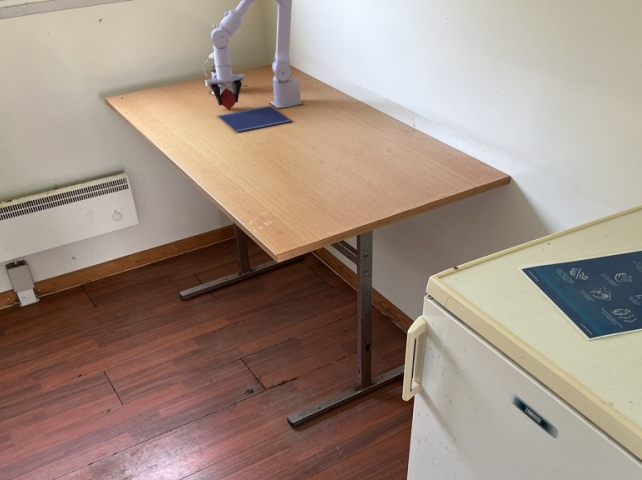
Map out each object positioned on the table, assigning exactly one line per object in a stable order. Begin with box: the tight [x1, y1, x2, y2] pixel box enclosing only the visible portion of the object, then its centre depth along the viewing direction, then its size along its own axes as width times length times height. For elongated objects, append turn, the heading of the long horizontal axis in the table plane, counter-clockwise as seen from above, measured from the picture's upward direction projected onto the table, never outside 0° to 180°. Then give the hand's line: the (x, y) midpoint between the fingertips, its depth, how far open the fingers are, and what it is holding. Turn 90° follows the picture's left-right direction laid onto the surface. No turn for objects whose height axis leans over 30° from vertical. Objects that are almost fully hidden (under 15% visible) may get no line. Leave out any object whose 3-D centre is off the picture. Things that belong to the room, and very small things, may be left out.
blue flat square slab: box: [218, 105, 292, 134], centre depth 236 cm, size 20×20×1 cm
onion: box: [220, 87, 236, 110], centre depth 244 cm, size 6×6×8 cm
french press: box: [202, 23, 233, 96], centre depth 257 cm, size 10×12×25 cm
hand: (228, 103), depth 245 cm, fingers closed on onion, 6 cm apart
